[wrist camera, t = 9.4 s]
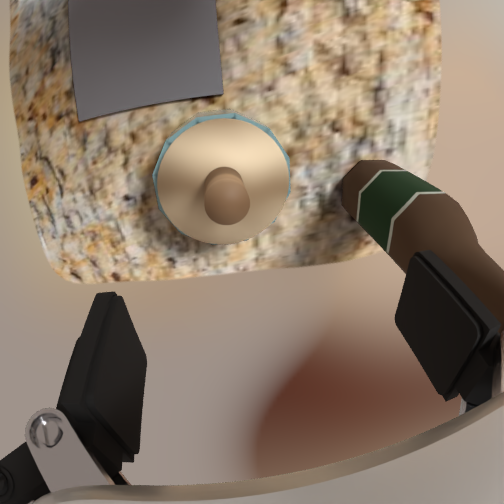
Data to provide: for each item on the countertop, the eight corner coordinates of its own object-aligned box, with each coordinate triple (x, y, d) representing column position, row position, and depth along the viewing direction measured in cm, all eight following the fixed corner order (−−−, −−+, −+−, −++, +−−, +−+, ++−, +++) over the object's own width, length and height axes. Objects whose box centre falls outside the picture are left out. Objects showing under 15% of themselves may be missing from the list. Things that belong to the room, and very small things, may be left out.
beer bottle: (379, 228, 36) (511, 378, 15) (326, 209, 33) (462, 387, 13) (407, 171, 32) (573, 290, 12) (355, 144, 30) (548, 267, 9)
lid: (148, 129, 22) (134, 140, 17) (283, 112, 23) (301, 118, 18) (171, 247, 27) (166, 280, 23) (289, 231, 28) (305, 260, 23)
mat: (69, -5, 18) (68, -6, 17) (212, -37, 19) (212, -38, 19) (80, 121, 25) (79, 121, 25) (223, 93, 26) (223, 93, 26)
